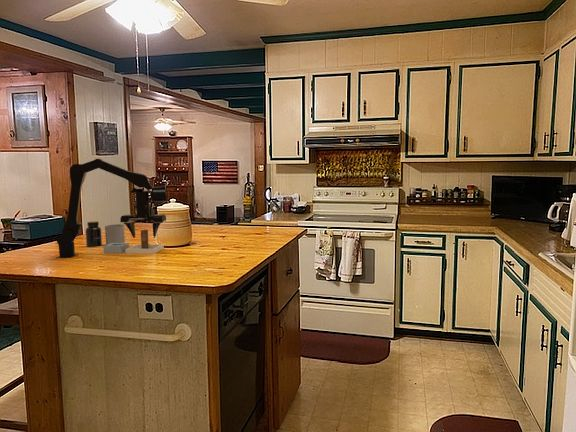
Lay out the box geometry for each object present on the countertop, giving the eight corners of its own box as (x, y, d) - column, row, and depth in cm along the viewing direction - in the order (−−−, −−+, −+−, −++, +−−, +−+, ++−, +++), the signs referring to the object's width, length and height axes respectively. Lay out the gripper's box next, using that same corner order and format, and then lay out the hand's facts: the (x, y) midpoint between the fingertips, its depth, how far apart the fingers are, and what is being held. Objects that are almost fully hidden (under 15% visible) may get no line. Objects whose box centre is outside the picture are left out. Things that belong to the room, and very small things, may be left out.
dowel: (147, 251, 193) (146, 230, 192) (140, 250, 193) (139, 230, 192) (149, 249, 196) (148, 229, 195) (143, 249, 196) (142, 229, 195)
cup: (128, 244, 212) (127, 224, 211) (120, 248, 204) (118, 226, 203) (111, 244, 213) (110, 224, 212) (102, 247, 205) (101, 226, 204)
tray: (155, 254, 189) (154, 249, 188) (125, 254, 189) (125, 249, 189) (163, 249, 200) (163, 244, 199) (135, 249, 200) (135, 244, 200)
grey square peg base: (121, 254, 190) (121, 246, 190) (103, 254, 191) (103, 246, 190) (129, 250, 198) (128, 242, 198) (112, 250, 199) (111, 242, 198)
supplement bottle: (98, 248, 205) (96, 222, 203) (83, 248, 205) (82, 223, 203) (104, 245, 212) (103, 220, 210) (90, 245, 212) (89, 221, 210)
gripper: (169, 200, 199) (170, 234, 201) (129, 201, 200) (131, 234, 202) (160, 203, 188) (162, 238, 190) (118, 203, 189) (120, 238, 191)
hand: (144, 237), depth 194 cm, fingers open, 9 cm apart
